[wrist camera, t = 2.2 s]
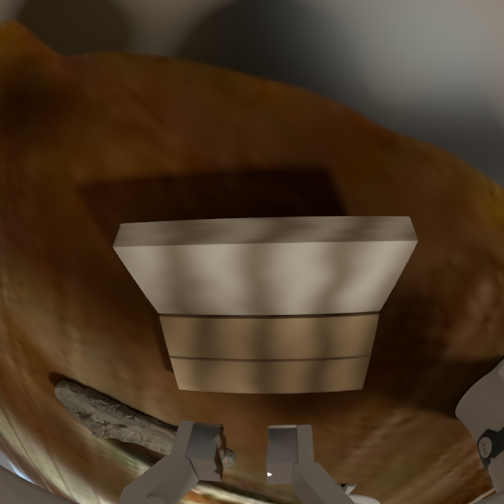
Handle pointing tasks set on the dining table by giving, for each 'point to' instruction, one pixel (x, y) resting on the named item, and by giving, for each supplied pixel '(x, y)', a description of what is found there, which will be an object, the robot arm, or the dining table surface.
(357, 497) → the molding
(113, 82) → the dining table surface
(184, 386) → the oak board
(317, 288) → the birch plank
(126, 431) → the long grey stone
